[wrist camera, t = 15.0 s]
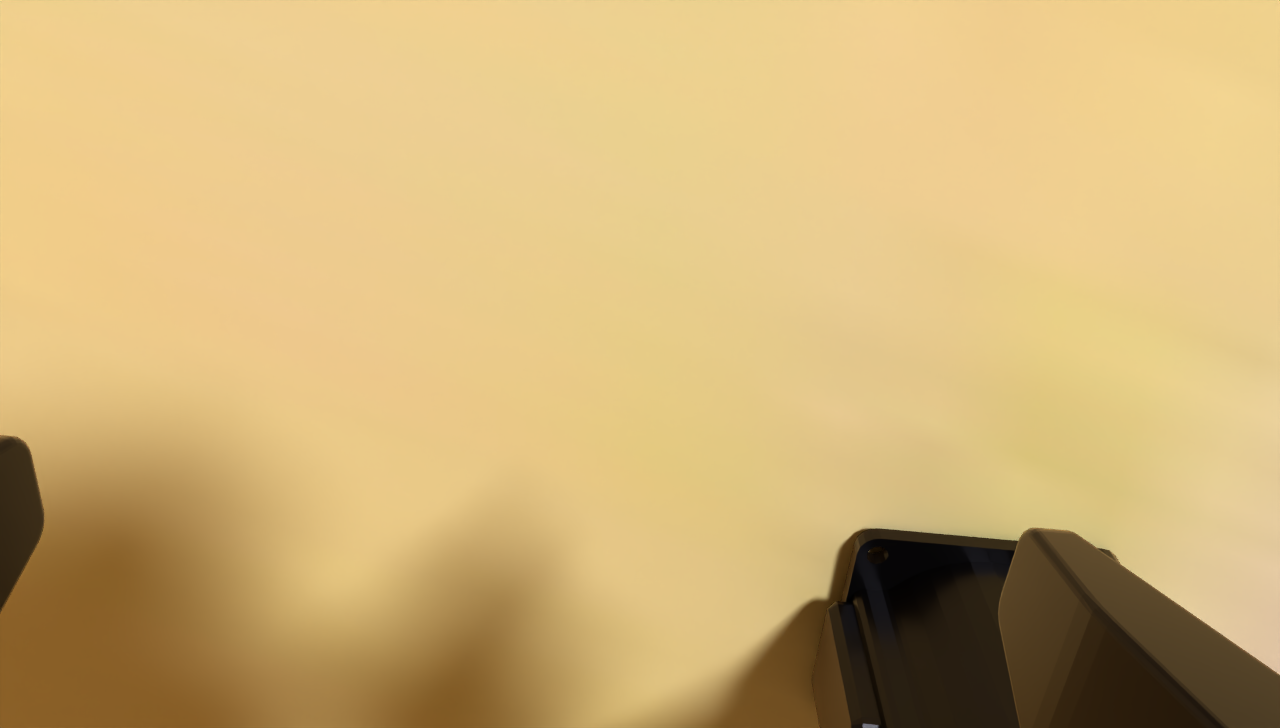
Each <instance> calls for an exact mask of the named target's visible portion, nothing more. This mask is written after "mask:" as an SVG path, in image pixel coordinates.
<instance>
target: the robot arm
mask: <svg viewBox="0 0 1280 728" xmlns="http://www.w3.org/2000/svg"><path fill="white" fill-rule="evenodd" d="M43 526H44V509H43V504H42V500H41V496H40V491H39V487H38V482H37V478H36V473H35V469H34V464H33V460H32V455H31V452H30V449H29V447H28V446H27V444H26V443H25V442H24V441H23V440H21V439H20V438H18V437H15V436H4V435H0V613H1V611H2V609H3V607H4V605H5V603H6V602H7V600H8V598H9V596H10V594H11V592H12V590H13V589H14V587H15V585H16V583H17V581H18V579H19V577H20V576H21V574H22V572H23V570H24V568H25V566H26V564H27V562H28V561H29V559H30V557H31V555H32V553H33V551H34V549H35V548H36V546H37V544H38V542H39V540H40V537H41V534H42V531H43ZM874 547H882V548H884V549H883V550H882V551H880V552H879V553H873V554H872V553H869V552H868V551H869V550H870V549H872V548H874ZM812 685H813V691H814V697H815V703H816V709H817V715H818V721H819V727H820V728H1280V675H1279V674H1278V673H1276V672H1275V671H1273V670H1272V669H1271V668H1269V667H1268V666H1266V665H1265V664H1263V663H1262V662H1260V661H1259V660H1258V659H1256V658H1255V657H1253V656H1252V655H1250V654H1249V653H1247V652H1246V651H1245V650H1243V649H1242V648H1240V647H1239V646H1237V645H1236V644H1234V643H1233V642H1232V641H1230V640H1229V639H1227V638H1226V637H1224V636H1223V635H1221V634H1220V633H1219V632H1217V631H1216V630H1214V629H1213V628H1211V627H1210V626H1209V625H1207V624H1206V623H1204V622H1203V621H1201V620H1200V619H1198V618H1197V617H1196V616H1194V615H1193V614H1191V613H1190V612H1188V611H1187V610H1185V609H1184V608H1183V607H1181V606H1180V605H1178V604H1177V603H1175V602H1174V601H1172V600H1171V599H1170V598H1168V597H1167V596H1165V595H1164V594H1162V593H1161V592H1159V591H1158V590H1157V589H1155V588H1154V587H1152V586H1151V585H1149V584H1148V583H1147V582H1145V581H1144V580H1142V579H1141V578H1139V577H1138V576H1136V575H1135V574H1134V573H1132V572H1131V571H1129V570H1128V569H1126V568H1125V567H1123V566H1122V565H1121V564H1120V562H1119V561H1118V559H1117V558H1116V556H1115V555H1114V554H1113V553H1112V552H1111V551H1109V550H1105V549H1100V548H1096V547H1095V546H1093V545H1092V544H1090V543H1089V542H1087V541H1086V540H1085V539H1083V538H1082V537H1080V536H1079V535H1077V534H1076V533H1074V532H1071V531H1067V530H1055V529H1043V528H1030V529H1028V530H1026V531H1025V532H1024V533H1023V534H1022V535H1021V537H1020V539H1019V541H1011V540H1000V539H989V538H978V537H967V536H955V535H944V534H933V533H922V532H911V531H900V530H889V529H870V530H867V531H865V532H863V533H861V534H860V535H859V536H858V537H857V539H856V541H855V543H854V547H853V551H852V556H851V560H850V564H849V569H848V573H847V577H846V582H845V586H844V590H843V595H842V599H841V602H839V601H836V602H834V603H833V604H832V605H831V606H830V607H829V608H828V609H827V612H826V616H825V621H824V625H823V630H822V634H821V639H820V643H819V648H818V652H817V657H816V661H815V666H814V670H813V675H812Z"/></svg>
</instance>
